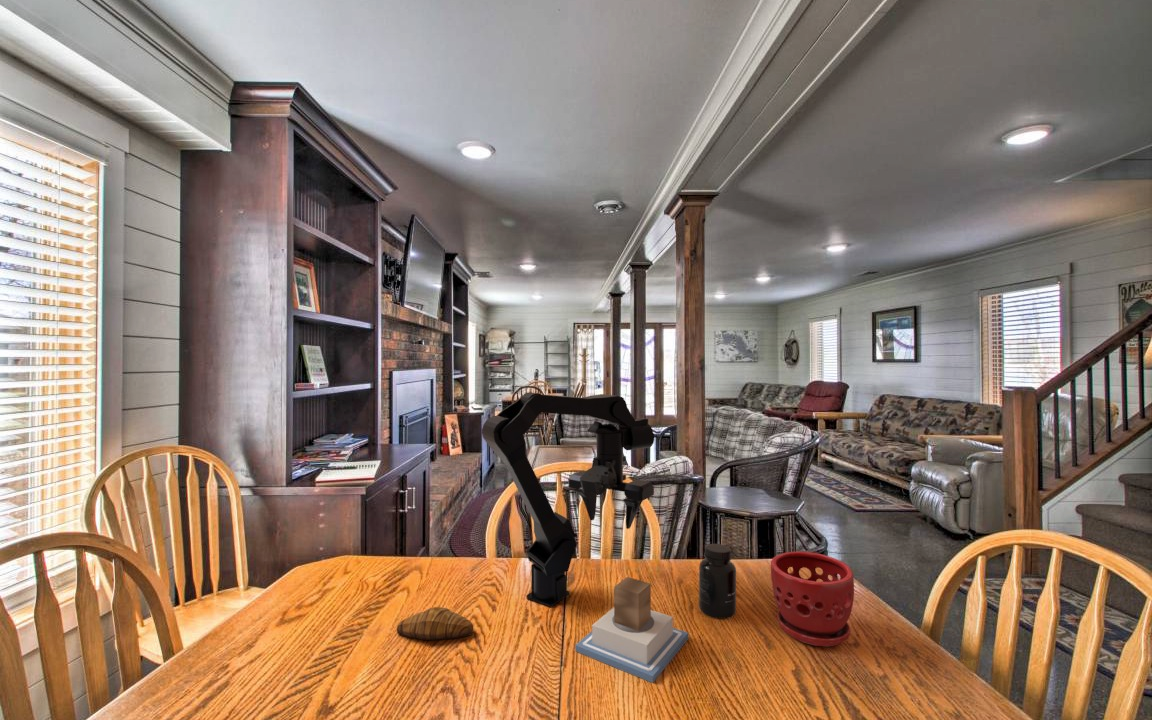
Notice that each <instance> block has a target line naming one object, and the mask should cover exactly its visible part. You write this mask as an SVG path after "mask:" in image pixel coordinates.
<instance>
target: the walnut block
mask: <svg viewBox="0 0 1152 720" xmlns="http://www.w3.org/2000/svg"><path fill="white" fill-rule="evenodd" d="M651 588H652V585H651V582H646V581H643V580H640V579H636V578H633V577H630V576H626V577H625V578H624V579H623V580H621V581H620V582H618V583H617V584H615V585H614V589H613V598H614V599H613V600H614V601H613V602H614V603H613V605H614V606H613V607H614V622H615V623H618V624H620V625H623V626H626V627H629V628H632V629H634V630H637V631H639V630H640V629H641V628H642V627H643V626H644V625H645V624H646V623H647V622H648V621H649V620H650V619H651V610H652V609H651V608H652V606H651V605H652V599H651V597H652V593H651V592H652V591H651Z"/></svg>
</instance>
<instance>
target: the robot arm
mask: <svg viewBox="0 0 1152 720" xmlns="http://www.w3.org/2000/svg"><path fill="white" fill-rule="evenodd" d="M541 413H542V414H556V415H574V416H585V417H587V418H588V417H589V418H592V419H594V420H595V419H596V420H599V421H594V422H593V424H592V425H591V426H589V427H588V429H587V431H586V432H588V433H590V434H591V433H592V434H595V435H596V456H595V457H593V460H592V465H591V467H590V468H588V469H587V470H581V471H578V472H574V473H571V474H570V475H569V477H568V479H567V481H568V488H569V489H573V492H575V493H577V494H578V495H579V496H580V497H581V499H582V501H583V503H584V506H585V508H586V512H587V515H588V517H589V520H590V521H594V520H595V518H596V512H597V498H598V497H597V496H601V495H602V494H604V492H605V491H606V490H614V491H620V492H623V494H624V496H625V497H626V498H623V501H624V504H625V527H626V530H628V529H630V528H631V527H632V525H633V522H634V520H635V517H636V514H637V513H638V510H639V508H640V507H641V504H642V503H643V501H645V500H647V499H649V498H650V497H652V496H654V495H655V486H654V485H653V483H652V482H651V481H649V480H642V479H635V480H632V481H629V482H624V481H625V480H627V475H626V474H624V462H626V461H627V456H626V455H625V456H624V450H625V451H632V450H633V451H634V450H641V449H649V448H651V447H652V446H653V444H654V443H655V433H654V431H653V428H652V426H651V425H650V424H649V419H648V418H646V417H645V418H644V417H638V418H636V419H635V418H634V416H633V414H632V413H631V411H630V409H629V408H628V405H627V402H626V401H625V398H624V397H623V396H619V395H612V394H604V393H603V394H602V393H600V394H592V395H588V396H583V397H578V396H565V395H555V394H554V395H553V394H541V393H537V392H530V391H529V392H525V393H524V394H523V395H521V396H520V397H519V398H518V399H517V400H516V401H514V402H513V403H511V404H509V405H508V406H507V407H505V408H503V409H502V410H501V411H500V412H499V413H497V415H493V416H490V417H488V419H486V420H485V421H484V423H483V426H482V427H481V435H482V438H483V440H484V442H485V443H487V445H488V446H489V448H490V449H491V450H492V451H493V452H494V454H495V455H496V456H497V457H498V458H499V459H500V460H501V461H502V462H503V463H504V465H505V467H506V468H507V471H508V473H509V475H510V477H511V479H512V480H513V483H514V484H515V487H516V489H517V491H518V492H519V494H520V497H521V498H522V501H523V502H524V504H525V506H526V509H527V511H528V512H529V514H530V517H531V518H532V521H533V533H534V536H535V540H534V541H533V543H532V544H531V545H530V547H529V548H528V549H527V551H526V552H525V553H526V557H527V558H528V561H529V563H530V562H531V563H532V564H531V565H530V566H531V567H530V568H531V569H530V570H531V571H530V572H531V573H530V574H531V576H530V577H531V579H530V580H531V592H529V593H527V594H526V595H525V596H526V599H527V600H530V601H533V602H536V603H539V604H541V605H545V606H547V607H550V608H551V607H553V606H555V605H557V603H560V602H561V601H562V600H564V599H565V598H567V597H568V596H570V591H569V590H567V581H568V580H567V575H566V572H568V571H569V569H570V565H571V561H572V559H573V556H574V553H575V552H576V548H577V545H578V544H577V539H576V538H577V537H578V535H577V533H575V531H574V530H573V527H572V523H571V521H570V519H569V518H566V517H565V516H563V515H562V514H560V513H558V512H556V511H554V509H553V507H552V505H551V503H550V501H549V499H548V496H547V495H546V493H545V491H544V490H543V487H542V485H541V483H540V481H539V478H538V477H537V475H536V473H535V471H534V469H533V467H532V465H531V463H530V461H529V459H528V457H527V444H526V443H527V442H526V439H525V436H524V435H525V433H527V432H528V431H529V430H530V428H531V427H532V426H533V424H534V423H535V421H536V419H537V418H538V417H539V416H540V415H541ZM601 421H605V422H608V423H605V424H604V423H603V424H602V422H601ZM616 425H618V426H616Z"/></svg>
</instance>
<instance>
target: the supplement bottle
mask: <svg viewBox="0 0 1152 720" xmlns="http://www.w3.org/2000/svg"><path fill="white" fill-rule="evenodd" d="M703 557H704V558H703V559H702V560H701V561H700V563H699V567H698V570H699V571H698V573H699V575H698V608H699V610H700V611H701V612H702V613H703V614H704V615H705V616H707V617H710V618H714V619H719V620H725V619H730V618H732V617H733V616H734V615H735V614H736V612H737V568H736V565H735V564H734V563H733V562H732V561H731V560H732V550H731V548H730V547H728V546H727V545H725V544H722V543H721V544H719V543H710V544H706V545H705V546H704V554H703Z"/></svg>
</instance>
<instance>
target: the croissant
mask: <svg viewBox="0 0 1152 720" xmlns="http://www.w3.org/2000/svg"><path fill="white" fill-rule="evenodd" d="M473 631H474V624H473V622H471V621H470V620H469V619H467V617H465V616H463V615H460V614H458V613H456V612H453V611H451V610H450V609H449V608H446V607H443V606H442V607H441V606H433V607H429V608H428V609H426V610H424V611H420V612H417V613H415V614H413V615H410V616H407V617H406V618H404V619H402V620H401V621H400V622H398V623H397V627H396V633H397V634H398V635H401V636H403V637H407V638H410V639H418V640H419V639H420V640H423V641H424V640H426V641H441V640H453V639H460V638H465V637H468V636H471V635H472V634H473Z"/></svg>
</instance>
